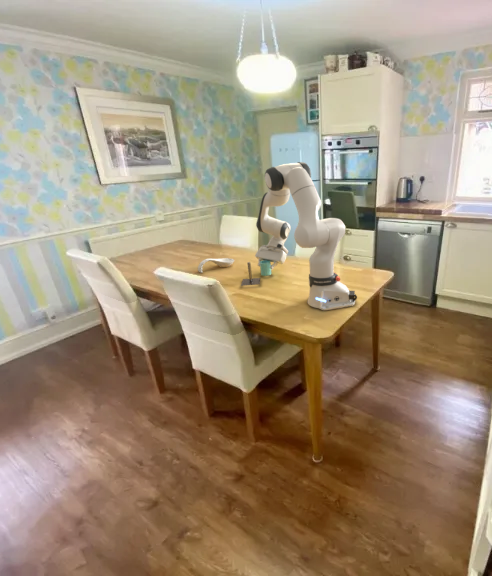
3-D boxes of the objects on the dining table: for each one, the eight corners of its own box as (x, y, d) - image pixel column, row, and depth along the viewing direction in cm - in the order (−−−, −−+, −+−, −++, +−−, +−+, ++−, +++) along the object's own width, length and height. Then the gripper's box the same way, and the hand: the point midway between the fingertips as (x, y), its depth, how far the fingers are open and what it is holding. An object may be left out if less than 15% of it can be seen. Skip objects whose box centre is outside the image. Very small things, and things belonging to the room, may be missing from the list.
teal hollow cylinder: (271, 274, 190) (270, 259, 187) (271, 277, 185) (270, 262, 181) (261, 274, 190) (260, 260, 186) (261, 278, 184) (259, 263, 181)
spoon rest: (228, 261, 215) (227, 251, 212) (238, 265, 207) (237, 254, 204) (195, 270, 200) (193, 259, 197) (204, 275, 192) (202, 263, 189)
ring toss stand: (261, 280, 181) (258, 259, 176) (260, 286, 172) (257, 264, 167) (243, 281, 180) (240, 260, 176) (241, 288, 171) (238, 266, 166)
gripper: (258, 242, 191) (249, 262, 187) (285, 246, 180) (275, 267, 177) (264, 247, 196) (255, 267, 192) (290, 251, 185) (281, 272, 182)
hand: (265, 267), depth 184 cm, fingers open, 8 cm apart
